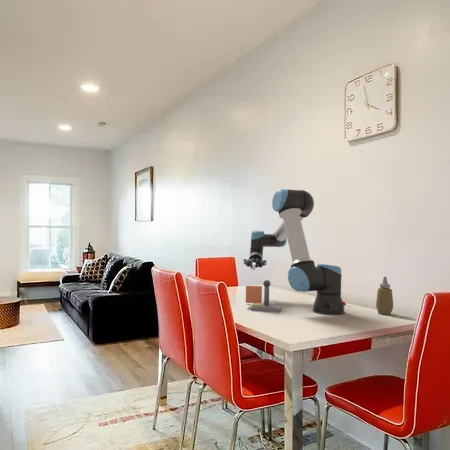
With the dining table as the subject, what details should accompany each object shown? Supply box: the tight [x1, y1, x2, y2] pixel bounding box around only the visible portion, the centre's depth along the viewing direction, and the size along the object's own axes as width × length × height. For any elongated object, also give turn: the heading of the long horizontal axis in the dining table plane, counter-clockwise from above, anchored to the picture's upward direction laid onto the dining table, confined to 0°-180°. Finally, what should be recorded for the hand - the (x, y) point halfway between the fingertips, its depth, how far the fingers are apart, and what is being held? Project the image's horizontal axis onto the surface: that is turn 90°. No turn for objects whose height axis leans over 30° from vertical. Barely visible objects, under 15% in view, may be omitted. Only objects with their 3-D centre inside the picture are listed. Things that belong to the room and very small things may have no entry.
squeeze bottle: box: [375, 276, 394, 315], centre depth 209 cm, size 8×8×18 cm
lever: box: [245, 279, 271, 305], centre depth 217 cm, size 12×4×12 cm, turn 82°
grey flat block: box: [246, 302, 281, 313], centre depth 216 cm, size 17×14×2 cm
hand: (253, 267), depth 220 cm, fingers closed
